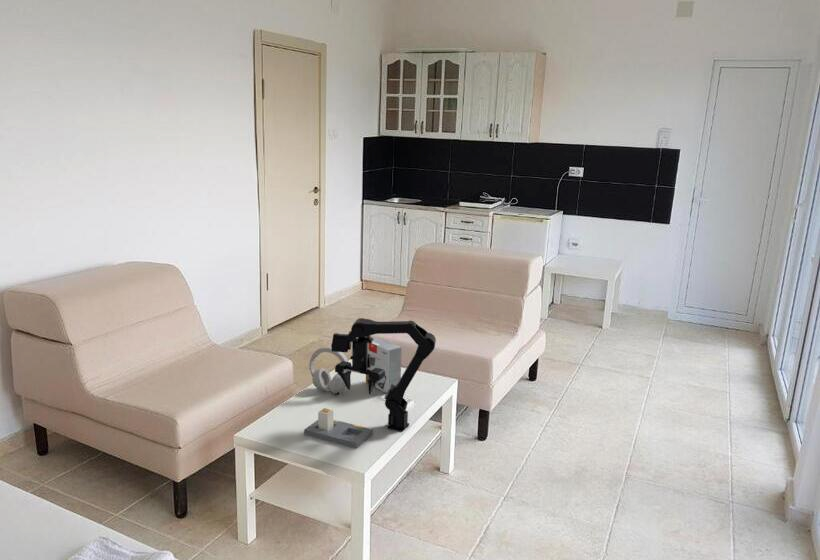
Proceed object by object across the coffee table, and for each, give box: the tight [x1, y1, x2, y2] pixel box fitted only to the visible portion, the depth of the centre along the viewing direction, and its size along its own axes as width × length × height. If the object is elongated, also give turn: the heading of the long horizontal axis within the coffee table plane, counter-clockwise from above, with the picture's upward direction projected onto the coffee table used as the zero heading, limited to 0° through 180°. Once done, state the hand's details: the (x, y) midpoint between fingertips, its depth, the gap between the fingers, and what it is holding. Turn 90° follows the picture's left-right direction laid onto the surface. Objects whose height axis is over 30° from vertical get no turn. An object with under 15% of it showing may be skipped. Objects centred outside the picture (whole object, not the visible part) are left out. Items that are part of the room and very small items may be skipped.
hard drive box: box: [365, 337, 403, 394], centre depth 277 cm, size 16×8×20 cm, turn 42°
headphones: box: [308, 345, 349, 395], centre depth 270 cm, size 19×8×20 cm, turn 66°
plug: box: [317, 408, 334, 431], centre depth 237 cm, size 4×4×9 cm
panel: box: [303, 419, 374, 449], centre depth 235 cm, size 22×12×2 cm, turn 64°
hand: (359, 392), depth 241 cm, fingers open, 9 cm apart
